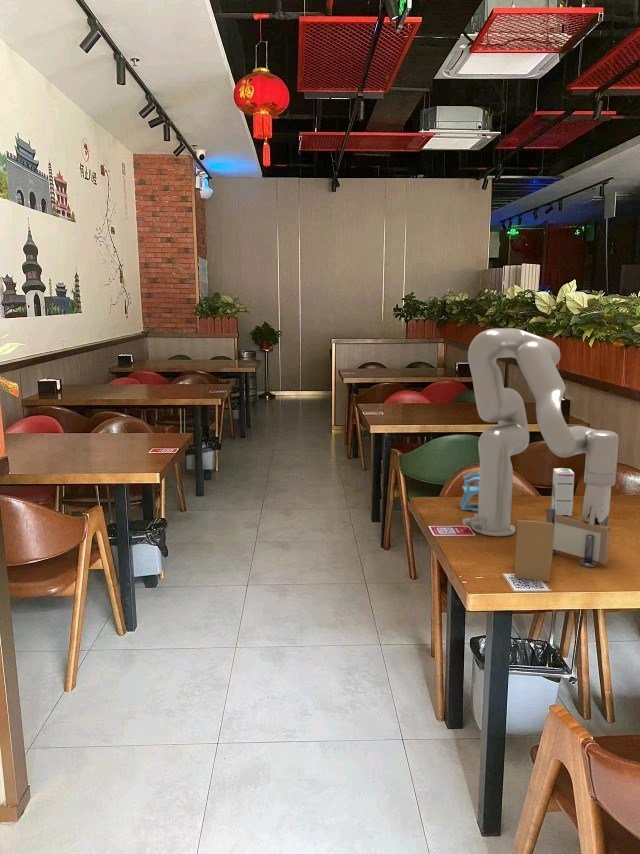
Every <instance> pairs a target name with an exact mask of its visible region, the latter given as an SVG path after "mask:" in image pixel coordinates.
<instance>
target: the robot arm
mask: <svg viewBox="0 0 640 854" xmlns="http://www.w3.org/2000/svg"><path fill="white" fill-rule="evenodd" d="M503 358H512V359H513V358H514V359H515V360H516V361H517V364H518V366H519V368H520V371H521V373H522V375H523V377H524V378H525V380H526V383H527V385H528V387H529V390H530V391H531V393H532V395H533V397H534V399H535V415H536V421H537V426H538V429H539V431H540V434H541V436H542V438H543V440H544V442H545V444H546V446H547V447H548V449H549V450H550V451H551V453H553V455H556V456H557V457H560V458H569V457H573V456H576V455H581V454H585V463H584V464H585V465H584V476H583V477H584V478H583V479H584V480H583V482H584V483H585V484H586V485H585V489H584V490H585V491H584V495H583V505H582V511H581V513H582V514H581V520H583V521H587V520H588V522H589V525H595V524H600V525H603V523H604V519H605V518H606V517H607V516H608V517H609V515H608V514H610V507H611V494H612V486H615V484H616V480H617V479H616V477H617V466H618V465H617V463H618V452H619V435H618V433H616V432H614V431H611V430H605V429H603V430H602V429H594V428H590V427H588V426H584V425H574V426H569V425H567V423H566V421H565V419H564V416H563V412H562V400H563V397H564V394H565V392H566V390H567V389H566V387H567V386H566V384H565V382H564V380H563V378H562V377H561V375H560V372H559V370H558V368H557V365H558V364H559V363H560V360H561V351H560V348H559V346H558V345H557V344H556V343H555V342H554V341H552V340H550V339H547V338H545V337H543V336H539V335H537V334H535V333H534V334H533V333H531V332H528V331H525V330H522V329H518V328H510V327H509V328H489V329H486V330H483V331H481V332H480V333H478V334H477V335H475V337H474V338H473V339H472V340H471V342H470V344H469V347H468V351H467V360H468V361H467V362H468V365H469V368H470V369H469V370H470V373H471V379H472V384H473V386H472V387H473V391H474V398H475V403H476V410H477V412H478V416H479V418H480V419H481V420H483V421H484V422H487V423H496V422H497V425H495V426H492V427H489V428H487V429H485V430H484V431H483V432H482V433H481V435H480V436H479V438H478V443H477V447H478V448H477V449H478V456H479V474H480V483H479V494H478V506H477V508H478V512H477V513H474V516H472V517H471V518H470V517H467V518H465V517H464V518H462V525H463V526H466V525H470V526H471V529H472V530H473V531H474V532H476V533H479V534H481V535H483V536H484V535H485V536H491V537H507V536H511V535H513V534H516V527H515V526H514V524H511V514H512V513H511V512H512V501H513V500H512V496H513V481H514V480H513V479H514V470H513V465H512V461H511V457H512V456H514V455H515V456H516V455H518V454H520V453H523V452H524V451H525V450H526V449H527V448H528V447H529V443H530V431H529V425H528V424H529V423H528V419H527V412H526V408H525V403H524V400H523V398H522V396H521V394H520V393H519V392H518V391H517V390H516V389H513V388H510V387H505V386H504V380H503V375H502V371H501V369H500V366H499V365H498V363H497V360H498V359H503Z"/></svg>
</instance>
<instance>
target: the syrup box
mask: <svg viewBox="0 0 640 854" xmlns="http://www.w3.org/2000/svg"><path fill="white" fill-rule="evenodd" d="M574 483H575V472H574V471H573V470H572V469H571V468H565V467H558V468H553V473H552V490H551V507H550V508H554V509H556V512H555V516H556V515H568V516H567V517H572V516H573V505H574V488H575V487H574V486H575V484H574Z"/></svg>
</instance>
